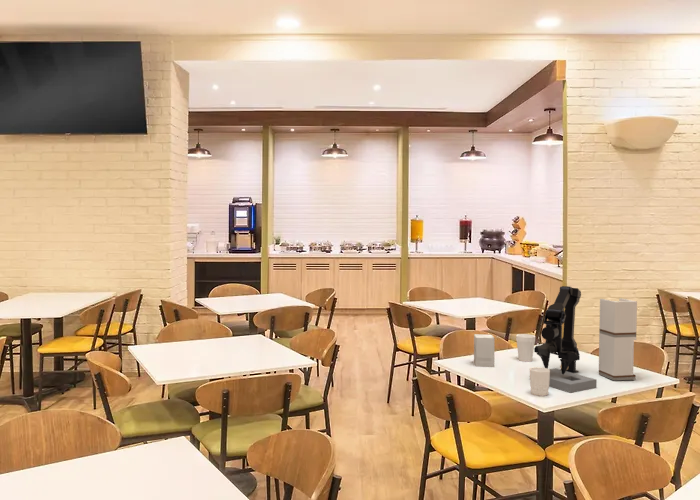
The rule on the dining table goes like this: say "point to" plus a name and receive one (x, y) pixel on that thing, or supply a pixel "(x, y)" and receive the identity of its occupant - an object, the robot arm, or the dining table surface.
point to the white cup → (539, 381)
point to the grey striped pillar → (617, 338)
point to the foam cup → (525, 346)
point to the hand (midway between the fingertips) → (554, 371)
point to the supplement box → (483, 350)
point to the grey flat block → (570, 381)
